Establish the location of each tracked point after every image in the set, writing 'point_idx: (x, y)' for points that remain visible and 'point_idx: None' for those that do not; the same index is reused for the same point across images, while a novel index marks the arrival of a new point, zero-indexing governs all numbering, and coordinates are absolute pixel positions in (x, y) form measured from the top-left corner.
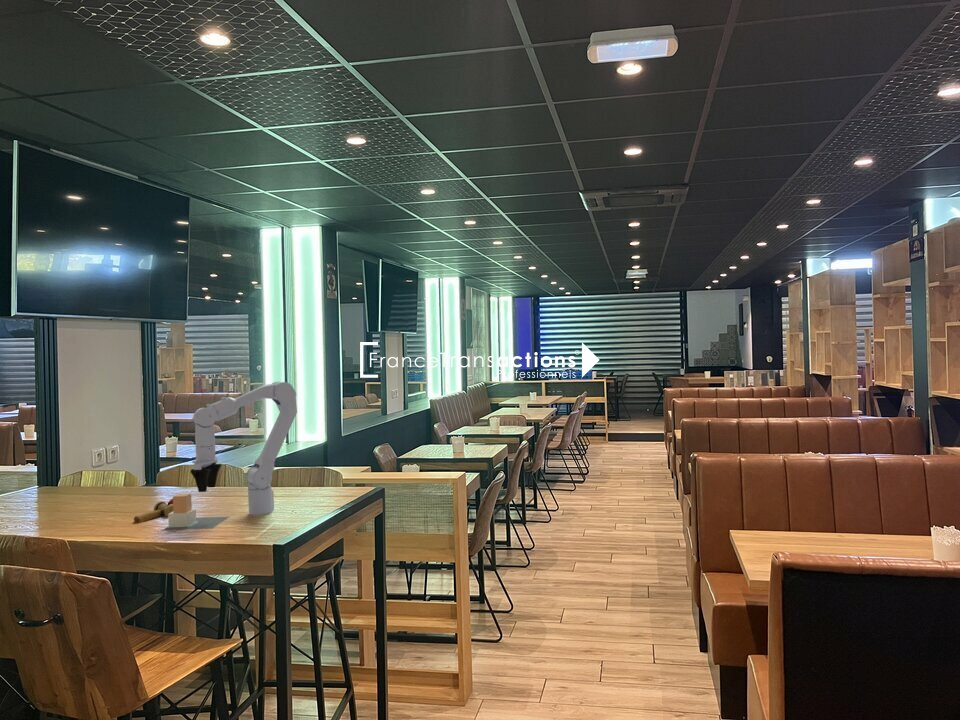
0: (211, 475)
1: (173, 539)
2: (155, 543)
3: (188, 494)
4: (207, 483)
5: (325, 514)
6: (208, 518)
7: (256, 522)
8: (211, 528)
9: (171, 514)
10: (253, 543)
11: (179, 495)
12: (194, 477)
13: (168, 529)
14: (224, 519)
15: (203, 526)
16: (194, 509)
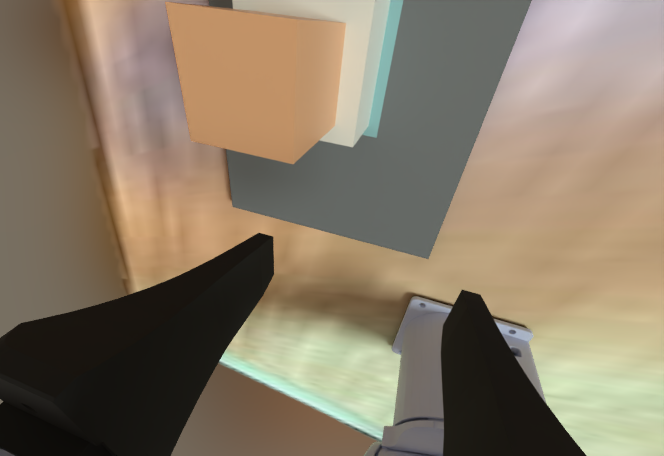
0: (462, 425)
1: (127, 82)
2: (65, 19)
3: (255, 148)
4: (465, 317)
5: (373, 423)
6: (429, 175)
7: (333, 312)
8: (232, 204)
9: (235, 2)
10: (135, 285)
11: (219, 66)
12: (123, 301)
13: (223, 7)
14: (373, 240)
15: (265, 174)
16: (336, 142)
